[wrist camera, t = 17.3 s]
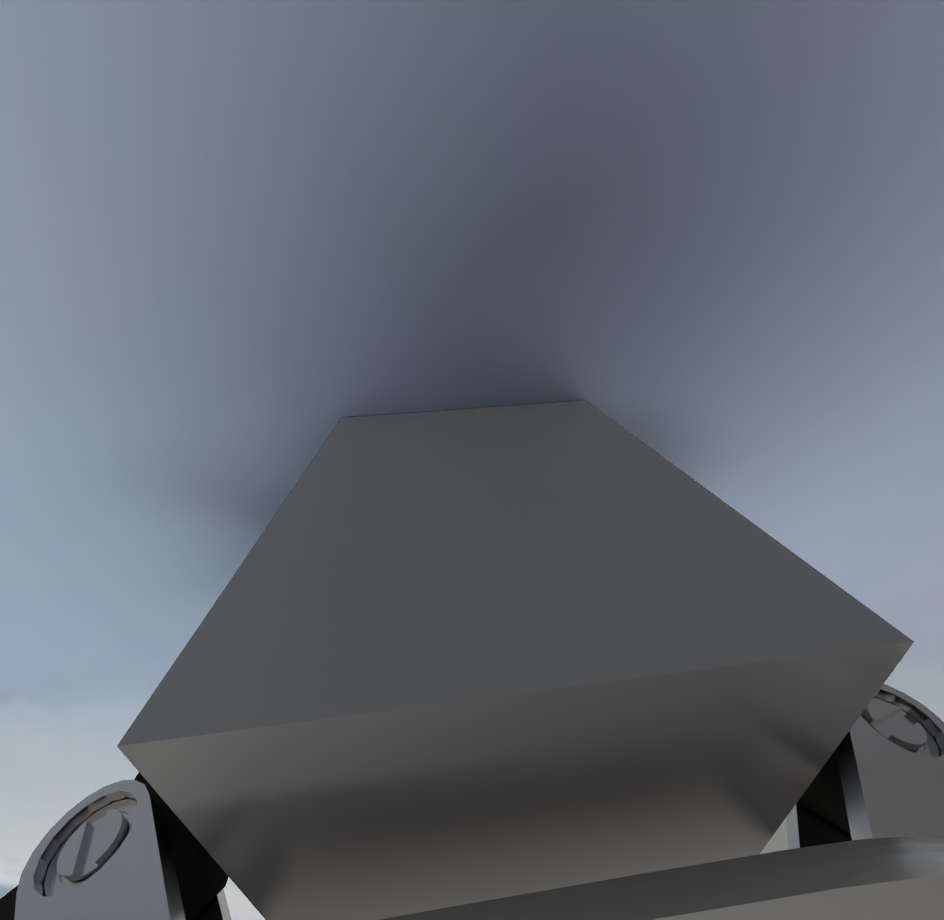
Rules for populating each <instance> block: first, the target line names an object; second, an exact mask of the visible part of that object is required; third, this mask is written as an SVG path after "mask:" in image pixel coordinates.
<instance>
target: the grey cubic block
mask: <svg viewBox="0 0 944 920" xmlns="http://www.w3.org/2000/svg"><path fill="white" fill-rule="evenodd" d="M913 642H914V641H912V640H911V639H909V638H908V637H907V636H905V635H904V634H903V633H901V632H900V631H899V630H897V629H896V628H895V627H893V626H892V625H890V624H889V623H888V622H886V621H885V620H884V619H882V618H881V617H880V616H878V615H877V614H876V613H874V612H873V611H871V610H870V609H869V608H867V607H866V606H865V605H863V604H862V603H861V602H859V601H858V600H857V599H855V598H854V597H852V596H851V595H850V594H848V593H847V592H846V591H844V590H843V589H842V588H840V587H839V586H837V585H836V584H835V583H833V582H832V581H831V580H829V579H828V578H827V577H825V576H824V575H823V574H821V573H820V572H818V571H817V570H816V569H814V568H813V567H812V566H810V565H809V564H808V563H806V562H805V561H804V560H802V559H801V558H799V557H798V556H797V555H795V554H794V553H793V552H791V551H790V550H789V549H787V548H786V547H785V546H783V545H782V544H780V543H779V542H778V541H776V540H775V539H774V538H772V537H771V536H770V535H768V534H767V533H766V532H764V531H763V530H761V529H760V528H759V527H757V526H756V525H755V524H753V523H752V522H751V521H749V520H748V519H746V518H745V517H744V516H742V515H741V514H740V513H738V512H737V511H736V510H734V509H733V508H732V507H730V506H729V505H727V504H726V503H725V502H723V501H722V500H721V499H719V498H718V497H717V496H715V495H714V494H713V493H711V492H710V491H708V490H707V489H706V488H704V487H703V486H702V485H700V484H699V483H698V482H696V481H695V480H694V479H692V478H691V477H689V476H688V475H687V474H685V473H684V472H683V471H681V470H680V469H679V468H677V467H676V466H674V465H673V464H672V463H670V462H669V461H668V460H666V459H665V458H664V457H662V456H661V455H660V454H658V453H657V452H655V451H654V450H653V449H651V448H650V447H649V446H647V445H646V444H645V443H643V442H642V441H641V440H639V439H638V438H636V437H635V436H634V435H632V434H631V433H630V432H628V431H627V430H626V429H624V428H623V427H622V426H620V425H619V424H617V423H616V422H615V421H613V420H612V419H611V418H609V417H608V416H607V415H605V414H604V413H603V412H601V411H600V410H598V409H597V408H596V407H594V406H593V405H592V404H590V403H589V402H588V401H586V400H581V401H568V402H554V403H540V404H526V405H512V406H498V407H485V408H471V409H457V410H443V411H429V412H415V413H402V414H388V415H374V416H360V417H346V418H341V420H340V421H339V422H338V424H337V425H336V427H335V428H334V430H333V431H332V433H331V434H330V436H329V437H328V439H327V440H326V441H325V443H324V444H323V446H322V447H321V449H320V450H319V452H318V453H317V455H316V456H315V458H314V459H313V460H312V462H311V463H310V465H309V466H308V468H307V469H306V471H305V472H304V474H303V475H302V477H301V478H300V479H299V481H298V482H297V484H296V485H295V487H294V488H293V490H292V491H291V493H290V494H289V496H288V497H287V498H286V500H285V501H284V503H283V504H282V506H281V507H280V509H279V510H278V512H277V513H276V515H275V516H274V517H273V519H272V520H271V522H270V523H269V525H268V526H267V528H266V529H265V531H264V532H263V534H262V535H261V536H260V538H259V539H258V541H257V542H256V544H255V545H254V547H253V548H252V550H251V551H250V553H249V554H248V555H247V557H246V558H245V560H244V561H243V563H242V564H241V566H240V567H239V569H238V570H237V572H236V573H235V574H234V576H233V577H232V579H231V580H230V582H229V583H228V585H227V586H226V588H225V589H224V591H223V592H222V593H221V595H220V596H219V598H218V599H217V601H216V602H215V604H214V605H213V607H212V608H211V610H210V611H209V612H208V614H207V615H206V617H205V618H204V620H203V621H202V623H201V624H200V626H199V627H198V629H197V630H196V631H195V633H194V634H193V636H192V637H191V639H190V640H189V642H188V643H187V645H186V646H185V648H184V649H183V650H182V652H181V653H180V655H179V656H178V658H177V659H176V661H175V662H174V664H173V665H172V667H171V668H170V669H169V671H168V672H167V674H166V675H165V677H164V678H163V680H162V681H161V683H160V684H159V686H158V687H157V688H156V690H155V691H154V693H153V694H152V696H151V697H150V699H149V700H148V702H147V703H146V705H145V706H144V707H143V709H142V710H141V712H140V713H139V715H138V716H137V718H136V719H135V721H134V722H133V724H132V725H131V726H130V728H129V729H128V731H127V732H126V734H125V735H124V737H123V738H122V740H121V741H120V743H119V744H118V745H117V747H118V748H119V749H120V750H121V751H122V752H123V754H124V755H125V756H126V757H127V758H128V759H129V761H130V762H131V763H132V764H133V765H134V766H135V768H136V769H137V770H138V771H139V772H140V773H141V775H142V776H143V777H144V778H145V779H146V780H147V782H148V783H149V784H150V785H151V786H152V787H153V789H154V790H155V791H156V792H157V793H158V794H159V796H160V797H161V798H162V799H163V800H164V801H165V803H166V804H167V805H168V806H169V807H170V808H171V810H172V811H173V812H174V813H175V814H176V815H177V817H178V818H179V819H180V820H181V821H182V822H183V824H184V825H185V826H186V827H187V828H188V829H189V831H190V832H191V833H192V834H193V835H194V836H195V838H196V839H197V840H198V841H199V842H200V843H201V845H202V846H203V847H204V848H205V849H206V850H207V852H208V853H209V854H210V855H211V856H212V857H213V859H214V860H215V861H216V862H217V863H218V864H219V866H220V867H221V868H222V869H223V870H224V871H225V873H226V874H227V875H228V876H229V877H230V878H231V880H232V881H233V882H234V883H235V884H236V885H237V887H238V888H239V889H240V890H241V891H242V892H243V894H244V895H245V896H246V897H247V898H248V899H249V901H250V902H251V903H252V904H253V905H254V907H255V908H256V909H257V910H258V911H259V912H260V914H261V915H262V916H263V917H264V918H265V919H266V920H380V919H385V918H391V917H396V916H402V915H408V914H413V913H419V912H424V911H430V910H436V909H441V908H447V907H453V906H458V905H464V904H469V903H475V902H481V901H487V900H492V899H498V898H504V897H510V896H516V895H521V894H527V893H533V892H539V891H544V890H550V889H556V888H562V887H568V886H573V885H579V884H585V883H591V882H597V881H603V880H608V879H614V878H620V877H626V876H632V875H638V874H643V873H649V872H655V871H661V870H667V869H673V868H679V867H685V866H691V865H697V864H704V863H710V862H716V861H722V860H728V859H734V858H740V857H746V856H752V855H758V854H760V853H761V851H762V850H763V849H764V847H765V846H766V844H767V843H768V842H769V840H770V839H771V838H772V836H773V835H774V833H775V832H776V831H777V829H778V828H779V827H780V825H781V824H782V822H783V821H784V820H785V818H786V817H787V816H788V814H789V813H790V811H791V810H792V809H793V807H794V806H795V805H796V803H797V802H798V800H799V799H800V798H801V796H802V795H803V794H804V792H805V791H806V789H807V788H808V787H809V785H810V784H811V783H812V781H813V780H814V778H815V777H816V776H817V774H818V773H819V772H820V770H821V769H822V767H823V766H824V765H825V763H826V762H827V761H828V759H829V758H830V756H831V755H832V754H833V752H834V751H835V750H836V748H837V747H838V745H839V744H840V743H841V741H842V740H843V739H844V737H845V736H846V734H847V733H848V732H849V730H850V729H851V728H852V726H853V725H854V723H855V722H856V721H857V719H858V718H859V717H860V715H861V714H862V712H863V711H864V710H865V708H866V707H867V706H868V704H869V703H870V701H871V700H872V699H873V697H874V696H875V695H876V693H877V692H878V690H879V689H880V688H881V686H882V685H883V684H884V682H885V681H886V679H887V678H888V677H889V675H890V674H891V673H892V671H893V670H894V668H895V667H896V666H897V664H898V663H899V662H900V660H901V659H902V657H903V656H904V655H905V653H906V652H907V651H908V649H909V648H910V646H911V645H912V644H913Z"/></svg>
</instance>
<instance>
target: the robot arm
mask: <svg viewBox="0 0 944 920" xmlns="http://www.w3.org/2000/svg"><path fill="white" fill-rule="evenodd" d="M786 823H787V838H788V850H782V851H776V852H770V853H764V854H758V855H752V856H746V857H740V858H734V859H728V860H722V861H716V862H710V863H704V864H697V865H691V866H685V867H679V868H673V869H667V870H661V871H655V872H649V873H643V874H638V875H632V876H626V877H620V878H614V879H608V880H603V881H597V882H591V883H585V884H579V885H573V886H568V887H562V888H556V889H550V890H544V891H539V892H533V893H527V894H521V895H516V896H510V897H504V898H498V899H492V900H487V901H481V902H475V903H469V904H464V905H458V906H453V907H447V908H441V909H436V910H430V911H424V912H419V913H413V914H408V915H402V916H396V917H391V918H385V919H380V920H944V722H943V721H942V720H941V719H940V718H939V717H938V716H936V715H935V714H934V713H933V712H931V711H930V710H929V709H928V708H926V707H925V706H924V705H923V704H921V703H919V702H918V701H916V700H915V699H913V698H911V697H910V696H908V695H906V694H905V693H903V692H901V691H899V690H896V689H894V688H892V687H890V686H888V685H885V684H883V685H882V686H881V688H880V689H879V690H878V692H877V693H876V695H875V696H874V697H873V699H872V700H871V701H870V703H869V704H868V706H867V707H866V708H865V710H864V711H863V712H862V714H861V715H860V717H859V718H858V719H857V721H856V722H855V723H854V725H853V726H852V728H851V729H850V730H849V732H848V733H847V734H846V736H845V737H844V739H843V740H842V741H841V743H840V744H839V745H838V747H837V748H836V750H835V751H834V752H833V754H832V755H831V756H830V758H829V759H828V761H827V762H826V763H825V765H824V766H823V767H822V769H821V770H820V772H819V773H818V774H817V776H816V777H815V778H814V780H813V781H812V783H811V784H810V785H809V787H808V788H807V789H806V791H805V792H804V794H803V795H802V796H801V798H800V799H799V800H798V802H797V803H796V805H795V806H794V807H793V809H792V810H791V811H790V813H789V814H788V816H787V817H786ZM228 877H229V876H228V875H227V874H226V873H225V871H224V870H223V869H222V868H221V867H220V866H219V864H218V863H217V862H216V861H215V860H214V859H213V857H212V856H211V855H210V854H209V853H208V852H207V850H206V849H205V848H204V847H203V846H202V845H201V843H200V842H199V841H198V840H197V839H196V838H195V836H194V835H193V834H192V833H191V832H190V831H189V829H188V828H187V827H186V826H185V825H184V824H183V822H182V821H181V820H180V819H179V818H178V817H177V815H176V814H175V813H174V812H173V811H172V810H171V808H170V807H169V806H168V805H167V804H166V803H165V801H164V800H163V799H162V798H161V797H160V796H159V794H158V793H157V792H156V791H155V790H154V789H153V787H152V786H151V785H150V784H149V783H148V782H147V780H146V779H145V778H144V777H143V776H142V775H141V773H140V772H139V773H138V775H137V776H136V778H135V780H122V781H119V782H116V783H113V784H110V785H107V786H105V787H103V788H101V789H100V790H98V791H96V792H94V793H93V794H91V795H89V796H88V797H86V798H85V799H84V800H82V801H81V802H80V803H78V804H77V805H76V806H75V807H73V808H72V809H71V810H70V811H68V812H67V813H66V814H65V815H64V816H63V817H62V818H61V819H60V820H59V821H58V822H57V823H56V824H55V825H54V826H53V827H52V828H51V829H50V830H49V832H48V833H47V834H46V835H45V837H44V838H43V839H42V841H41V842H40V843H39V845H38V846H37V847H36V849H35V850H34V851H33V853H32V855H31V857H30V858H29V860H28V862H27V864H26V866H25V868H24V870H23V871H22V874H21V878H20V881H19V885H18V886H16V887H15V888H14V889H13V890H11V891H10V892H9V893H7V894H6V895H5V896H4V897H2V898H1V899H0V920H231V916H230V912H229V908H228V905H227V901H226V897H225V893H224V890H223V888H224V887H225V885H226V883H227V880H228Z"/></svg>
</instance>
